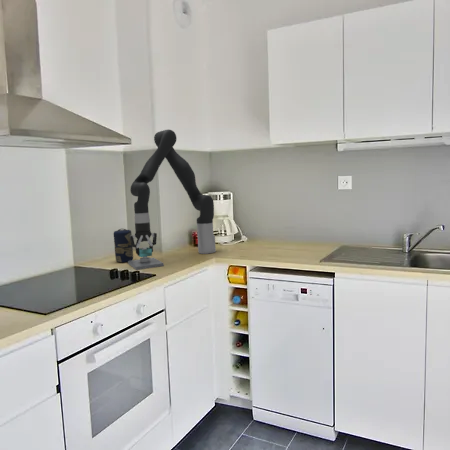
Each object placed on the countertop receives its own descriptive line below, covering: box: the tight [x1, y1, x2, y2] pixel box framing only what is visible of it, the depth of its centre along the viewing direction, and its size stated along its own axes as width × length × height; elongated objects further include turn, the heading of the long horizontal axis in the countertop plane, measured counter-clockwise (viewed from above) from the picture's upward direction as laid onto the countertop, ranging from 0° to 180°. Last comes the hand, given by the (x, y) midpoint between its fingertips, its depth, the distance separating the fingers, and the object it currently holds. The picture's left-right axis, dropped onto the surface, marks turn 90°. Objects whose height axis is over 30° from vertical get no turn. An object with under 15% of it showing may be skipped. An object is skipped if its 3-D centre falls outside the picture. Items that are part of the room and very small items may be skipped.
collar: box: [137, 246, 153, 258], centre depth 217 cm, size 6×6×4 cm
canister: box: [113, 228, 134, 263], centre depth 229 cm, size 10×10×18 cm
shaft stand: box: [127, 246, 165, 271], centre depth 217 cm, size 14×18×9 cm
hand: (144, 254), depth 217 cm, fingers closed on collar, 6 cm apart
